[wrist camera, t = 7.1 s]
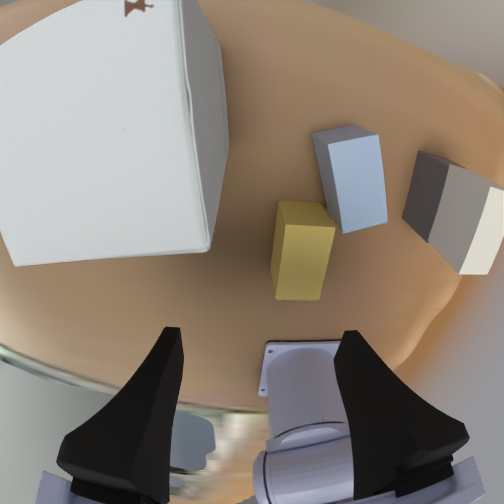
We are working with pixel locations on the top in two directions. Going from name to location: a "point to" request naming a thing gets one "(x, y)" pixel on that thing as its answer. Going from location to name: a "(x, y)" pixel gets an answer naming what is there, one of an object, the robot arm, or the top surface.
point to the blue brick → (352, 176)
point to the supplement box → (112, 132)
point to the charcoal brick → (426, 192)
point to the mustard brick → (300, 250)
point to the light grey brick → (469, 221)
